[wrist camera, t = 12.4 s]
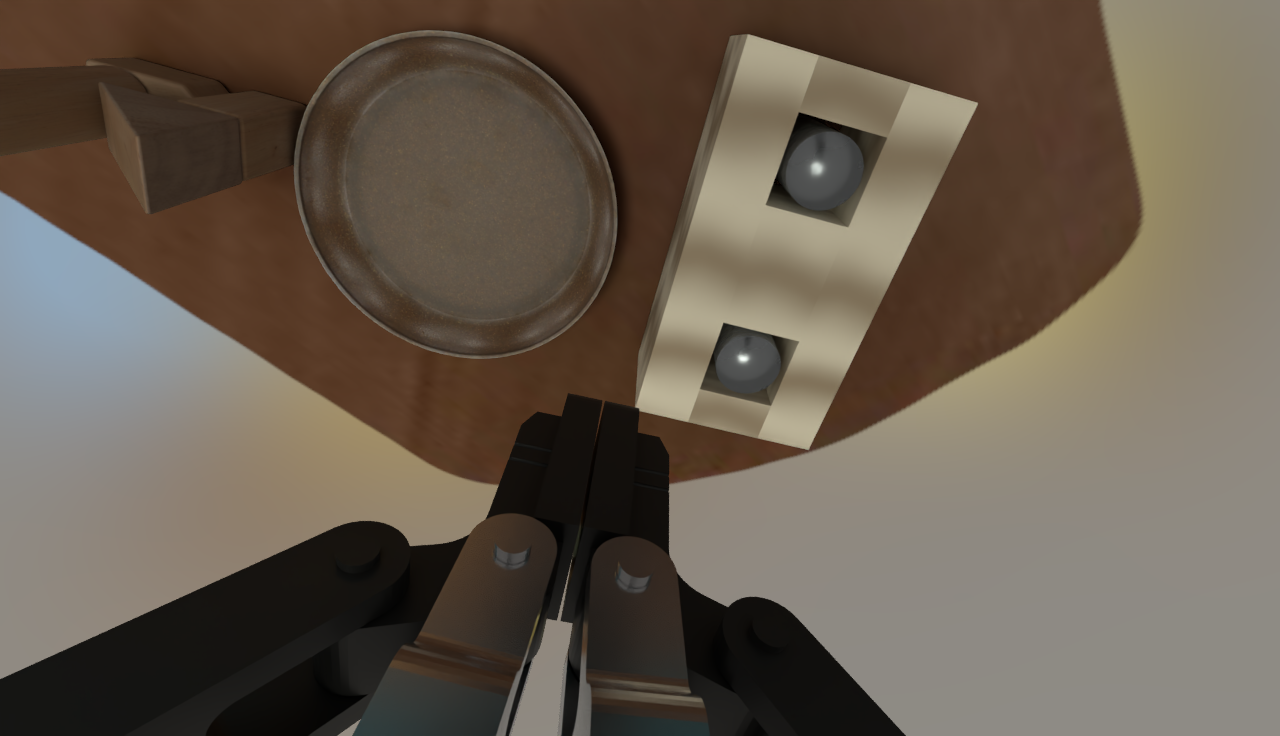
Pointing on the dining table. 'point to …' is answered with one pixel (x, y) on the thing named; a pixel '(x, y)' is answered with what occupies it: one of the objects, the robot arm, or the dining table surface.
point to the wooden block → (151, 125)
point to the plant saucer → (455, 194)
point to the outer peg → (746, 359)
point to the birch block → (788, 237)
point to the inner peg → (820, 165)
